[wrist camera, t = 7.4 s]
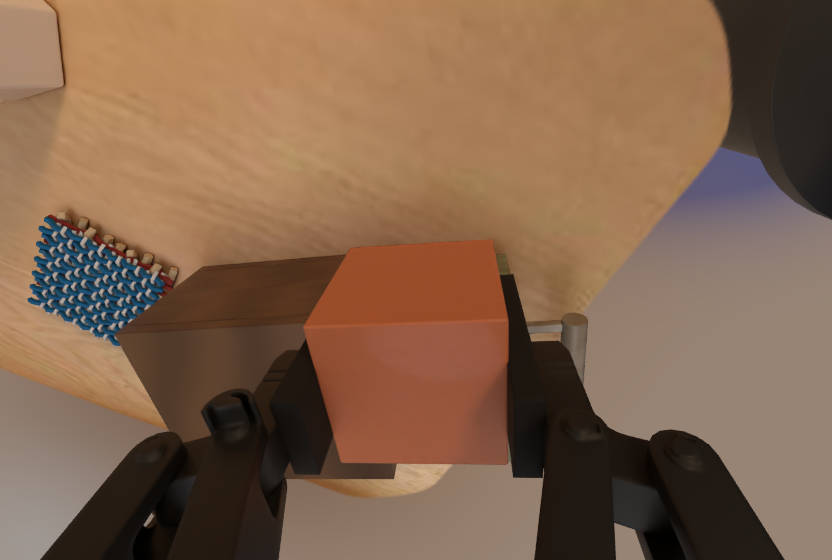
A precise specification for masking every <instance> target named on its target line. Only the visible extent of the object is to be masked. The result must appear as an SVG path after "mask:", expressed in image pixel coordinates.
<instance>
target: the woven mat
mask: <svg viewBox="0 0 832 560" xmlns="http://www.w3.org/2000/svg"><path fill="white" fill-rule="evenodd" d="M88 221H89V220H87V219H84V218H82V217H81V218H80V220H79V223H78V226H77V227H75V226H73V225H71V219H70V216H69V214H67V213H63V212H58V215H57V217H55V216H53V215H48V217H47V216H46V217H45V218H44V222H46V223H48V224H49V225H50V226H51V228H52V229H53V230H52V229H48V228H46V227H44V226H39V231H41V232H42V236H41V237H43V238H45V239H44V242H45V243H47V244H44V243H42V242H41V241H38V242H36V245H37V246H38V247H39V248H40V249H39V252H40V253H42V254H43V255H44V256H45V257H46V259H42V258H40V257H39V256H36V257H34V261H36V262H37V267H39V268H41V269H40V270H41V271H43V272H44V273H45V274H44V273H39V272H38V271H36V270H35V271H32V275H33V276H35V281H37V284H38V285H40V286H42V287H40V286H36V285H35V284H31V285H30V288H31V289H32V290H33V293H32V294H35V295H36V296H37V297H38V298H39V300H36V299H34V298H32V297H31V298H28V302H30V303H31V304H34V305H39V307H40V308H42V309H44V310H45V311H46V312H47V313H46V314H49V315H50V313H53V314H55V315H56V316H58V314H57V313H59V314H60V315H61V316H62V318H63V319H64V320H65V322H64V323H68V322H72V324H74V325H77V324H78V325H79V326H80V330H89V332H90V333H91V334H95V336H96V337H95V338H97V339H99V338H100V337H103V340H106V341H107V338H108V339H109V340H110V341H111V342H112V344H113V347H116V346H120V347H121V345H120V344H119V342H118V340H117V339H116V337H115V335H114V334H115V333H117V332H118V331H119V330H120V329H122V328H123V327H125V325H127V324H128V323H129V322H131V321H132V320H133V319H135V318H136V317H137V316H139V315H140V314H141V313H143V312H144V311H145V310H146V309H148V308H149V307H150V306H152V305H153V304H154V303H156V302H157V301H158V300H160V299H161V298H162V297H164V296H165V295H166V294H167V293H169V292H170V291H171V290H172V289H173V286H172V285H173V283H174V280H175V277H176V274H177V268H173V267H170V270H169V272H168V275H166V274H165V273H163V272H162V270H161V268H162V266H161V265H159V264H157V263H155V264H154V265H151V262H152V259H153V256H152V254H149V253H146V254H144V256H143V259H142V261H141V262H140V261H138V255H137V253H136V251H134V250H127V254H125V253H123V252H124V250H125V247H126V245H125V244H123V243H117V245H116V247H114V245H112V244H113V241H114V237H112V236H111V235H105V236H104V237H103V241H102V240H101V239H100V237H99V235H98V234H96V233H97V231H96V230H94V229H93V228H91V227H90V228H89V229H88V230H86V228H87V224H88ZM53 238H54V239H55V240H56V241H54V239H53ZM48 244H49V245H48ZM97 245H98V246H97ZM62 267H63V268H62ZM48 268H49V269H48ZM107 268H108V269H107ZM63 275H65V277H64V276H63ZM59 281H60V282H59ZM146 287H147V288H146ZM88 288H89V289H88ZM56 293H57V294H56ZM88 295H89V296H88ZM85 301H86V302H85ZM141 301H142V302H141ZM52 304H53V305H52ZM110 306H111V308H110ZM123 306H124V307H123ZM54 307H55V308H54ZM87 324H88V325H87ZM118 325H119V326H118ZM101 328H102V329H101ZM102 330H103V331H102ZM93 331H94V332H93ZM121 348H122V347H121Z"/></svg>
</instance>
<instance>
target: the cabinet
mask: <svg viewBox="0 0 832 560" xmlns="http://www.w3.org/2000/svg"><path fill="white" fill-rule="evenodd" d="M345 257H346V255H337V256H325V257H313V258H302V259H290V260H278V261H266V262H254V263H243V264H231V265H219V266H207V267H202V268H200V269H199V270H198V271H197V272H195V273H194V274H192V275H191V276H190V277H188V278H187V279H186V280H185V281H183V282H182V283H181V284H179V285H178V286H177V287H175V288H174V289H173V290H171V291H170V292H169V293H167V294H166V295H165V296H164V297H162V298H161V299H160V300H158V301H157V302H156V303H154V304H153V305H152V306H150V307H149V308H148V309H146V310H145V311H144V312H143V313H141V314H140V315H139V316H137V317H136V318H135V319H133V320H132V321H131V322H129V323H128V324H127V325H125V327H123V328H122V329H120V330H119V331H118V332H117V333H115V334H114V335H115V337H116V339H117V340H118V342H119V344H120V345H121V347H122V349H123V351H124V352H125V354H126V356H127V358H128V359H129V361H130V363H131V365H132V366H133V368H134V370H135V372H136V373H137V375H138V377H139V379H140V380H141V382H142V384H143V386H144V387H145V389H146V391H147V393H148V394H149V396H150V398H151V400H152V401H153V403H154V405H155V407H156V408H157V410H158V412H159V414H160V415H161V417H162V419H163V421H164V422H165V424H166V426H167V428H168V429H169V431H170V432H174V433H176V434H177V435H179V436H180V438H181V440H182V442H183V443H185V442H188V441H192V440H196V439H200V438H204V437H207V436H210V435H211V433H210V431H209V429H208V427H207V424H206V422H205V420H204V418H203V416H202V414H201V410H202V409H203V407H204V406H205V404H206V403H208V402H209V401H210V400H211V399H212V398H213V397H215V396H217V395H219V394H221V393H222V392H225V391H228V390H232V389H241V388H242V389H246V390H249V391H250V392H251V393H252V394H253V393H254V392H255V390H256V388H257V387H258V385H259V384H260V382H262V379H263V377H264V376H265V374H266V373H268V370H269V368H270V366H271V365H272V363H273V362H274V360H275V359H276V358H277V357H279V356H280V355H281V354H282V353H283V352H285V351H286V350H300V348H301V346H302V344H303V343H304V341H305V339H306V337H305V333H304V330H303V326H304V324H305V323H306V321H307V319H308V318H309V316H310V314H311V313H312V311H313V309H314V308H315V306H316V304H317V303H318V301H319V300H320V298H321V296H322V295H323V293H324V291H325V290H326V288H327V286H328V285H329V283H330V281H331V280H332V278H333V276H334V275H335V273H336V271H337V270H338V268H339V266H340V265H341V263H342V262H343V260H344V258H345ZM396 464H397V463H342V462H341V461H340V457H339V454H338V450H337V447H336V443H335V440H334V436H333V438H332V441H331V444H330V447H329V450H328V453H327V456H326V459H325V461H324V464H323V467H322V470H321V473H320V475H295V474H294V471H293V469H292V466H291V463H290V462H289V464H288V467H287V469H286V471H285V473H284V476H285V478H286V479H394V476H395V469H396Z"/></svg>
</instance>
